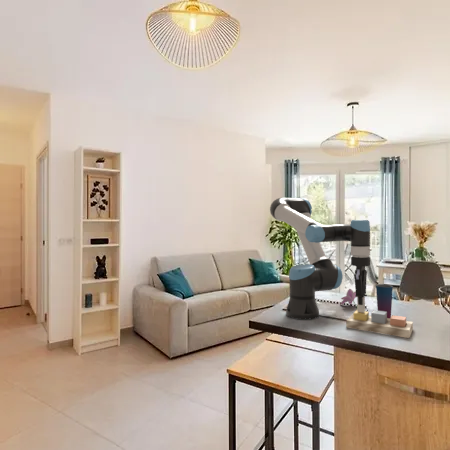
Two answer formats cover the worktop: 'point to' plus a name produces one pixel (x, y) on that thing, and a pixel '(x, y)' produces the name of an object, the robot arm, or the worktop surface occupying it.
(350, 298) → the lily
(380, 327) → the button board
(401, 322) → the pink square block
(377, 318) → the grey block
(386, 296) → the cup
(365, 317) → the yellow block
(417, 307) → the worktop surface
